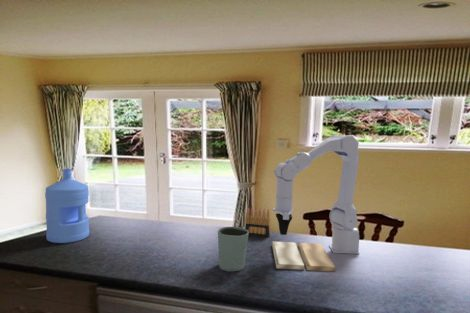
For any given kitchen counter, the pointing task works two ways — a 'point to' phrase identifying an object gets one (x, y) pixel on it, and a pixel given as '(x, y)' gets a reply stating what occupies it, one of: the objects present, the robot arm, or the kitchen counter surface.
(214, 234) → the kitchen counter surface
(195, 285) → the kitchen counter surface
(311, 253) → the laid plank
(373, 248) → the kitchen counter surface
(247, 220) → the ammunition clip
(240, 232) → the green cup
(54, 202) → the water jug
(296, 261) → the plank
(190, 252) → the kitchen counter surface
